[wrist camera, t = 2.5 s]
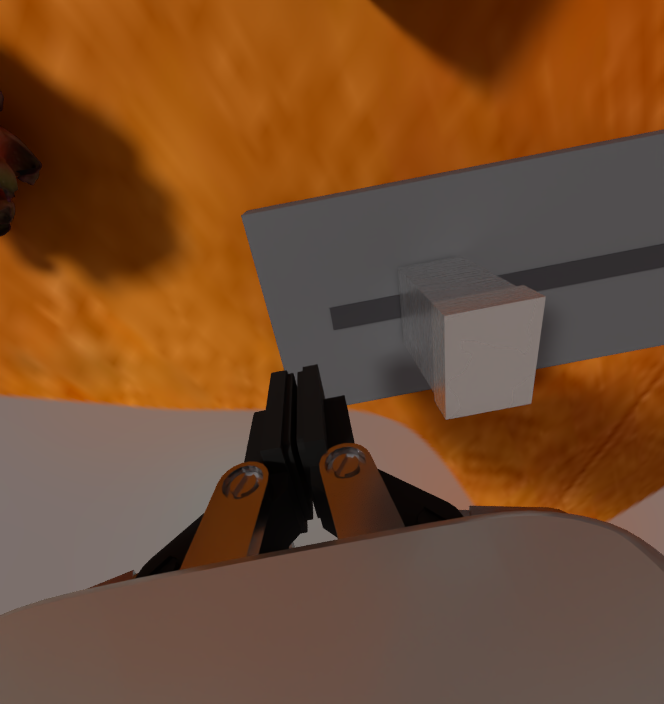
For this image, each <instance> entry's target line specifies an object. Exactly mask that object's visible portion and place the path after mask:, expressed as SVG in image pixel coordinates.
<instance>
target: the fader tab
mask: <svg viewBox="0 0 664 704" xmlns="http://www.w3.org/2000/svg"><path fill="white" fill-rule="evenodd" d="M398 279H399V292H400V305H401V317H402V330H403V342H404V344H405V346H406V347H407V349H408V351H409V352H410V354H411V356H412V357H413V359H414V361H415V362H416V364H417V366H418V367H419V369H420V371H421V372H422V374H423V376H424V377H425V379H426V381H427V382H428V384H429V386H430V387H431V389H432V391H433V392H434V400H435V402H436V404H437V406H438V407H439V409H440V411H441V412H442V414H443V416H444V418H445V419H446V420H447V419H453V418H458V417H463V416H468V415H474V414H479V413H484V412H489V411H495V410H500V409H505V408H511V407H516V406H521V405H526V404H531V402H532V394H533V387H534V380H535V372H536V365H537V358H538V350H539V343H540V336H541V328H542V321H543V314H544V306H545V299H546V296H544V295H542V294H540V293H538V292H536V291H534V290H532V289H530V288H528V287H527V286H525V285H521V286H515V285H513V284H511V283H510V282H508V281H506V280H504V279H502V278H500V277H499V276H497V275H495V274H493V273H491V272H489V271H487V270H486V269H484V268H482V267H480V266H478V265H476V264H474V263H473V262H471V261H469V260H467V259H465V258H463V257H461V256H457V257H452V258H447V259H442V260H436V261H431V262H426V263H421V264H416V265H410V266H405V267H400V268H398Z"/></svg>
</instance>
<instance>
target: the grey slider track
mask: <svg viewBox="0 0 664 704" xmlns="http://www.w3.org/2000/svg"><path fill="white" fill-rule="evenodd" d="M241 217H242V220H243V224H244V227H245V231H246V235H247V238H248V242H249V245H250V249H251V252H252V256H253V260H254V263H255V267H256V270H257V274H258V277H259V281H260V285H261V288H262V292H263V295H264V299H265V302H266V306H267V310H268V313H269V317H270V320H271V324H272V327H273V331H274V335H275V338H276V342H277V345H278V349H279V352H280V356H281V360H282V363H283V367H284V370H287V372H288V374H290V373H293V374H294V376H295V380H296V384H297V372H300V371H303V370H302V368H303V367H305V366H310V365H315V364H318V368H319V372H320V377H321V381H322V386H323V390H324V395H325V399H326V398H332V397H337V396H342V395H345V399H346V404H347V405H350V404H355V403H360V402H366V401H371V400H376V399H381V398H387V397H392V396H397V395H402V394H408V393H413V392H418V391H423V390H429V389H431V387H430V386H429V384H428V382H427V381H426V379H425V377H424V376H423V374H422V372H421V371H420V369H419V367H418V366H417V364H416V362H415V361H414V359H413V357H412V356H411V354H410V352H409V351H408V349H407V347H406V346H405V344H404V342H403V330H402V317H401V305H400V292H399V279H398V268H400V267H405V266H410V265H416V264H421V263H426V262H431V261H436V260H442V259H447V258H452V257H457V256H461V257H463V258H465V259H467V260H469V261H471V262H473V263H474V264H476V265H478V266H480V267H482V268H484V269H486V270H487V271H489V272H491V273H493V274H495V275H497V276H499V277H500V278H502V279H504V280H506V281H508V282H510V283H511V284H513V285H515V286H521V285H525V286H527V287H528V288H530V289H532V290H534V291H536V292H538V293H540V294H542V295H544V296H546V299H545V306H544V314H543V321H542V328H541V336H540V343H539V350H538V358H537V365H536V369H539V368H544V367H550V366H555V365H560V364H565V363H571V362H576V361H581V360H586V359H592V358H597V357H602V356H607V355H613V354H618V353H623V352H628V351H634V350H639V349H644V348H649V347H655V346H660V345H664V130H659V131H654V132H649V133H644V134H639V135H633V136H628V137H623V138H618V139H613V140H608V141H603V142H598V143H592V144H587V145H582V146H577V147H572V148H567V149H562V150H556V151H551V152H546V153H541V154H536V155H531V156H526V157H520V158H515V159H510V160H505V161H500V162H495V163H490V164H485V165H479V166H474V167H469V168H464V169H459V170H454V171H449V172H443V173H438V174H433V175H428V176H423V177H418V178H413V179H408V180H402V181H397V182H392V183H387V184H382V185H377V186H372V187H366V188H361V189H356V190H351V191H346V192H341V193H336V194H331V195H325V196H320V197H315V198H310V199H305V200H300V201H295V202H289V203H284V204H279V205H274V206H269V207H264V208H259V209H254V210H248V211H246V212H245V213H244V214H243V215H241Z"/></svg>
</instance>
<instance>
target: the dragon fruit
mask: <svg viewBox="0 0 664 704" xmlns="http://www.w3.org/2000/svg"><path fill="white" fill-rule="evenodd" d="M3 100H4V98H3V94H2V92H1V91H0V111H2V110H3ZM41 168H42V164H41V162H40V161H39V160H38V159H37V158H36V157H35V156H34V154H33V153H32V152H31V151H30V150H29V149H28V147H27V146H26V145H25V144H24V143H23V142H22V141H21V140H19V139H18V138H17V137H16V136H15V135H13V134H12V133H10V132H9V131H7V130H6V129H4V128H2V127H0V236H3V235H5V234H6V233H7V232H8V231H9V230H10V228H11V226H10V223H11V222H12V219H13V217H14V215H15V206H14V203H13V201H12V199H11V198H13V196H14V197H15V195H14V192H15V191H17V190H18V185H17V180H16V176H18V177H17V178H18V179H19V180H20V181H22V182H25V183H28V184H30V185H34V183H35V181H36V180H37V179H38V177H39V170H40V169H41Z"/></svg>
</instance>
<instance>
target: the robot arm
mask: <svg viewBox="0 0 664 704" xmlns="http://www.w3.org/2000/svg"><path fill="white" fill-rule="evenodd" d="M302 370H303V371H300V372H297V384H296V380H295V376H294V374H293V373H290V374H288V372H287V370H284V371H279V372H274V373H271V378H270V385H269V391H268V398H267V405H266V410H264V411H259V412H255V413H254V415H253V421H252V426H251V430H250V435H249V441H248V446H247V451H246V456H245V461H244V463H241V464H239V465H236V466H234V467H233V468H231V469H230V470H228V471H227V472H226V473H225V474H224V475H223V476H222V477H221V479H220V481H219V482H218V484H217V486H216V488H215V491H214V493H213V495H212V497H211V500H210V502H209V504H208V507H207V509H206V511H205V513H204V514H202V515H201V516H200V517H199V518H198V519H197V520H196V521H194V522H193V523H192V524H191V525H190V526H189V527H187V528H186V529H185V530H184V531H183V532H182V533H180V534H179V535H178V536H177V537H176V538H175V539H174V540H172V541H171V542H170V543H169V544H168V545H166V546H165V547H164V548H163V549H162V550H161V551H159V552H158V553H157V554H156V555H155V556H154V557H152V558H151V559H150V560H149V561H148V562H147V563H146V564H145V565H144V566H143V567H142V569H141V570H140V572H139V573H137V574H136V573H135V572H134V570H132V571H130V572H127V573H125V574H122V575H120V576H117V577H115V578H113V579H110V580H107V581H105V582H103V583H100V584H98V585H95V586H93V587H90V588H88V589H85V590H80V591H76V592H72V593H68V594H64V595H60V596H56V597H52V598H48V599H44V600H41V601H38V602H35V603H32V604H29V605H26V606H23V607H20V608H17V609H14V610H12V611H9V612H7V613H4V614H2V615H0V704H664V556H663V555H662V554H661V553H660V552H658V551H657V550H656V549H654V548H653V547H652V546H651V545H649V544H648V543H646V542H645V541H643V540H642V539H641V538H639V537H637V536H635V535H634V534H632V533H630V532H628V531H627V530H625V529H622V528H620V527H617V526H615V525H613V524H610V523H607V522H604V521H600V520H597V519H593V518H589V517H585V516H580V515H574V514H568V513H566V512H564V511H562V510H559V509H554V508H548V507H504V506H469V510H458V509H457V508H456V507H454V506H453V505H451V504H450V503H448V502H446V501H444V500H442V499H440V498H438V497H436V496H434V495H432V494H429V493H427V492H425V491H423V490H421V489H419V488H417V487H415V486H413V485H411V484H409V483H406V482H404V481H402V480H400V479H398V478H395V477H393V476H392V475H389V474H387V473H385V472H383V471H381V470H379V469H377V467H376V465H375V463H374V461H373V459H372V457H371V455H370V453H369V452H368V450H367V449H366V448H364V447H363V446H361V445H358V444H355V443H354V438H353V434H352V428H351V424H350V419H349V414H348V409H347V404H346V399H345V395H342V396H337V397H332V398H326V399H325V395H324V390H323V386H322V381H321V377H320V372H319V368H318V364H315V365H310V366H305V367H303V368H302ZM313 503H314V507H315V510H316V514H317V517H318V518H321V522H322V525H323V528H324V529H326V530H327V531H328V532H330V533H331V534H333V535H334V536H336V537H337V538H338V540H333V541H327V542H322V543H317V544H312V545H306V546H301V547H296V548H295V546H294V543H293V541H294V540H295V539H296V538H297V537H298V536H299V534H300V533H306V532H307V520H312V519H313Z"/></svg>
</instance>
